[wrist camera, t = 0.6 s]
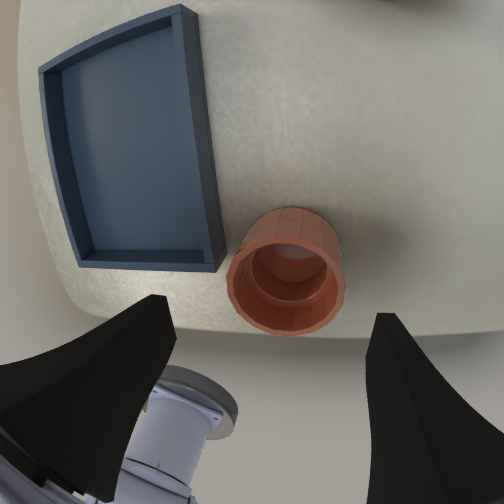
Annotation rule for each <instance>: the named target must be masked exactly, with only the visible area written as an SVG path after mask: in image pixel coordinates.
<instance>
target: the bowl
mask: <svg viewBox="0 0 504 504" xmlns="http://www.w3.org/2000/svg"><path fill="white" fill-rule="evenodd" d="M226 279H227V292H228V297H229V298H230V300H231V302H232V304H233V306H234V308H235V309H236V311H237V313H238V314H239V315H241V316H242V317H243V318H244V319H245V320H246V321H247V322H249V323H250V324H251V325H252V326H254V327H256V328H259V329H261V330H263V331H266V332H268V333H271V334H276V335H285V336H297V335H302V334H306V333H311V332H314V331H316V330H318V329H319V328H321V327H323V326H324V325H326V324H327V323H329V322H330V321H331V320H332V319H333V318H334V316H335V315H336V313H337V312H338V311H339V309H340V308H341V306H342V304H343V298H344V293H345V277H344V268H343V260H342V252H341V246H340V243H339V240H338V237H337V234H336V232H335V230H334V229H333V228H332V227H331V226H330V225H329V224H328V222H327V221H326V220H325V219H324V218H323V217H321V216H319V215H317V214H314V213H312V212H310V211H308V210H306V209H303V208H290V207H284V208H280V209H277V210H274V211H271V212H268V213H266V214H264V215H263V216H262V217H261V218H259V219H258V220H257V221H256V222H255V223H254V224H253V225H252V226H251V227H250V229H249V231H248V233H247V235H246V236H245V238H244V240H243V242H242V244H241V245H240V247H239V249H238V251H237V253H236V255H235V256H234V258H233V261H232V263H231V265H230V268H229V270H228V273H227V276H226Z"/></svg>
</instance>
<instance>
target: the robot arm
mask: <svg viewBox="0 0 504 504" xmlns="http://www.w3.org/2000/svg"><path fill="white" fill-rule="evenodd" d="M176 339H177V337H176V334H175V330H174V326H173V322H172V318H171V314H170V310H169V306H168V302H167V298H166V296H162V295H155V294H151V295H149V296H147V297H145V298H144V299H142V300H140V301H138V302H137V303H135V304H134V305H132V306H130V307H129V308H127V309H126V310H124V311H122V312H121V313H119V314H118V315H116V316H114V317H113V318H111V319H110V320H108V321H106V322H105V323H103V324H101V325H100V326H98V327H96V328H94V329H93V330H91V331H89V332H87V333H86V334H84V335H82V336H80V337H78V338H76V339H74V340H73V341H71V342H68V343H66V344H64V345H62V346H60V347H58V348H55V349H53V350H50V351H47V352H45V353H42V354H39V355H37V356H34V357H31V358H28V359H24V360H21V361H18V362H13V363H10V364H5V365H0V504H198V503H197V501H196V499H195V497H194V496H192V495H190V494H191V491H192V488H190V487H189V485H190V482H191V479H192V477H193V474H194V471H195V468H196V466H197V463H198V461H199V458H200V455H201V452H202V449H203V447H204V444H205V441H206V439H207V438H208V436H209V435H210V434H211V432H212V431H213V430H214V429H215V427H216V426H217V425H218V423H219V422H220V421H221V419H222V417H223V415H222V414H221V413H219V412H217V411H214V410H212V409H209V408H207V407H204V406H202V405H200V404H197V403H195V402H193V401H191V400H188V399H186V398H184V397H182V396H180V395H177V394H175V393H173V392H171V391H169V390H167V389H165V388H163V387H161V386H159V385H156V383H157V381H158V379H159V377H160V375H161V374H162V372H163V370H164V368H165V366H166V364H167V363H168V360H169V358H170V355H171V353H172V350H173V348H174V345H175V342H176ZM366 390H367V399H368V408H369V418H370V429H371V445H372V446H371V448H372V450H371V467H370V480H369V488H368V497H367V503H366V504H504V433H502V432H501V431H500V430H498V429H497V428H496V427H495V426H493V425H492V424H491V423H490V422H488V421H487V420H486V419H485V418H484V417H483V416H481V415H480V414H479V413H478V412H477V411H475V410H474V409H473V408H472V407H471V406H470V405H469V404H468V403H467V402H466V401H465V400H464V399H463V398H462V397H461V396H460V395H459V394H458V393H457V392H456V391H455V390H454V389H453V388H452V387H451V385H450V384H449V383H448V382H447V381H446V380H445V379H444V377H443V376H442V375H441V374H440V373H439V371H438V370H437V369H436V368H435V367H434V365H433V364H432V363H431V362H430V360H429V359H428V358H427V356H426V355H425V354H424V352H423V351H422V350H421V348H420V347H419V346H418V344H417V343H416V342H415V340H414V339H413V338H412V336H411V335H410V333H409V332H408V331H407V329H406V328H405V326H404V325H403V324H402V322H401V321H400V320H399V318H398V317H397V316H396V314H395V313H377V315H376V320H375V324H374V328H373V332H372V335H371V339H370V343H369V347H368V350H367V354H366ZM149 395H150V396H149ZM148 397H149V401H148V406H147V410H146V414H145V416H144V418H143V420H142V421H141V423H140V425H139V427H138V429H137V431H136V433H135V435H134V437H133V439H132V441H131V442H130V444H129V446H128V443H129V440H130V437H131V434H132V432H133V429H134V426H135V424H136V421H137V419H138V416H139V414H140V412H141V410H142V408H143V406H144V404H145V403H146V401H147V399H148ZM127 446H128V448H127ZM126 449H127V450H126ZM74 491H76V492H77V493H79V494H81V495H82V496H83V495H84V494H85V493H86V494H87V495H86V500H85V502H84V501H82V500H80V499H78V498H77V497H75V496H73V495H72V494H73V492H74Z"/></svg>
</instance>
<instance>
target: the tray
mask: <svg viewBox="0 0 504 504" xmlns="http://www.w3.org/2000/svg"><path fill="white" fill-rule="evenodd" d="M38 74H39V89H40V100H41V109H42V118H43V125H44V132H45V138H46V144H47V150H48V156H49V161H50V166H51V171H52V175H53V180H54V184H55V188H56V193H57V197H58V201H59V204H60V208H61V212H62V216H63V219H64V223H65V226H66V229H67V233H68V236H69V239H70V242H71V245H72V248H73V251H74V254H75V257H76V260H77V263H78V266H79V267H83V268H103V269H125V270H150V271H177V272H210V273H216V272H217V270H218V269H219V267H220V265H221V264H222V262H223V260H224V259H225V257H226V255H227V252H226V245H225V238H224V231H223V225H222V218H221V211H220V203H219V196H218V189H217V182H216V174H215V167H214V159H213V152H212V144H211V136H210V128H209V120H208V111H207V103H206V94H205V86H204V77H203V68H202V58H201V49H200V39H199V29H198V18H197V14H196V13H195V12H193V11H192V10H190V9H189V8H187V7H185V6H184V5H182V4H177V5H174V6H170V7H167V8H164V9H161V10H158V11H155V12H152V13H149V14H147V15H144V16H141V17H138V18H136V19H133V20H131V21H128V22H126V23H123V24H121V25H118V26H116V27H114V28H112V29H109V30H107V31H105V32H103V33H101V34H98V35H96V36H94V37H92V38H90V39H88V40H86V41H84V42H82V43H80V44H78V45H77V46H75V47H73V48H71V49H69V50H67V51H66V52H64V53H62V54H60V55H59V56H57V57H55V58H54V59H52V60H50V61H49V62H47V63H45V64H44V65H42V66H41V67H39V68H38Z"/></svg>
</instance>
